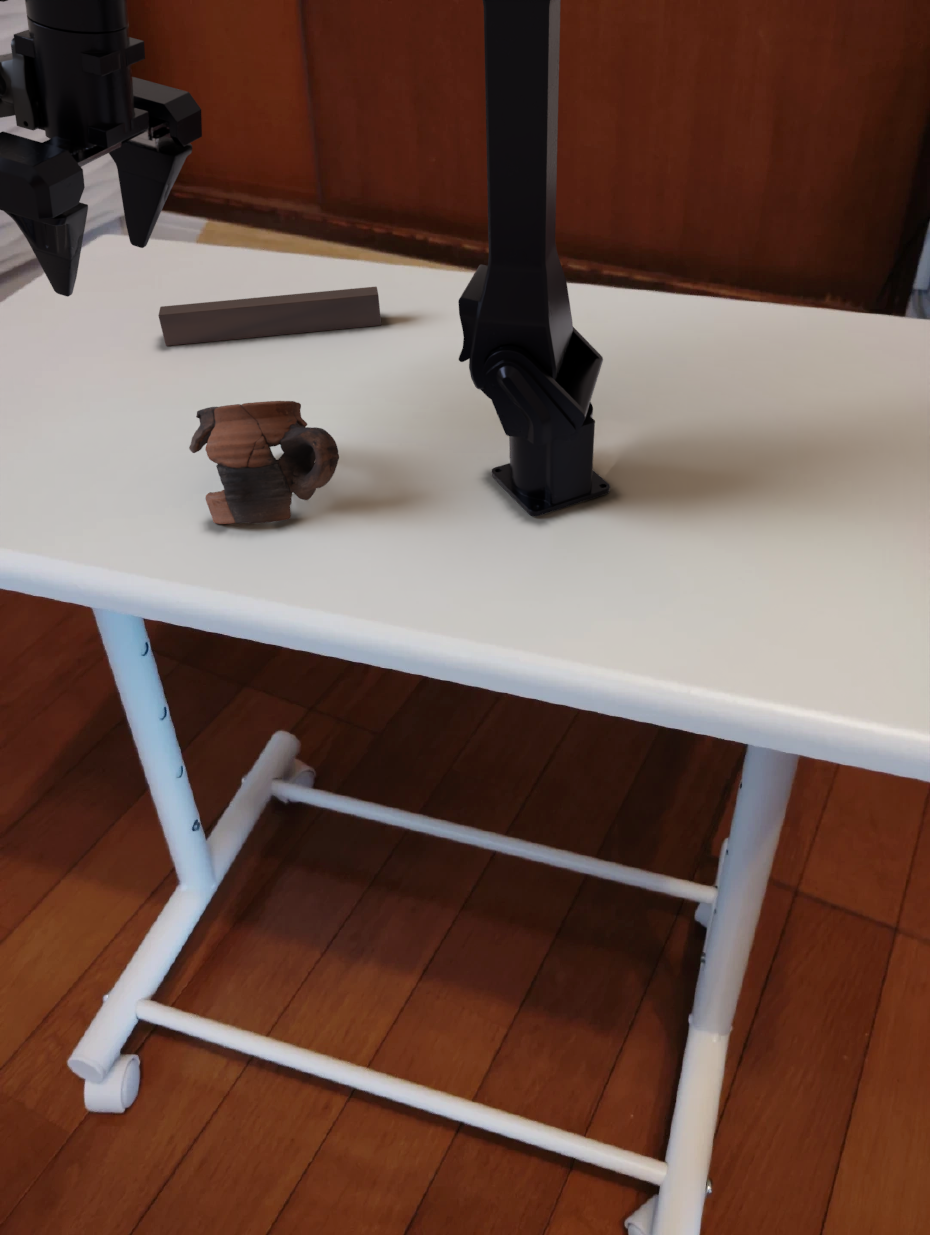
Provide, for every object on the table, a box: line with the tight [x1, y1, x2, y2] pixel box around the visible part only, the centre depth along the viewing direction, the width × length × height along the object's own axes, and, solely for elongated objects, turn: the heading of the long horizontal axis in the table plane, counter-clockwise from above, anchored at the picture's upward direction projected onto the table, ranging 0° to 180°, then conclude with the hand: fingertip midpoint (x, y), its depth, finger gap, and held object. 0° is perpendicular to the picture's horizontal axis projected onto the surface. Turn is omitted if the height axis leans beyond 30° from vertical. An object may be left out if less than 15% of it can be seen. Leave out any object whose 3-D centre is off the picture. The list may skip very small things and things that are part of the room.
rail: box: [157, 286, 382, 347], centre depth 94 cm, size 2×20×3 cm, turn 98°
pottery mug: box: [188, 400, 340, 525], centre depth 73 cm, size 12×10×8 cm
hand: (102, 269), depth 71 cm, fingers open, 9 cm apart
